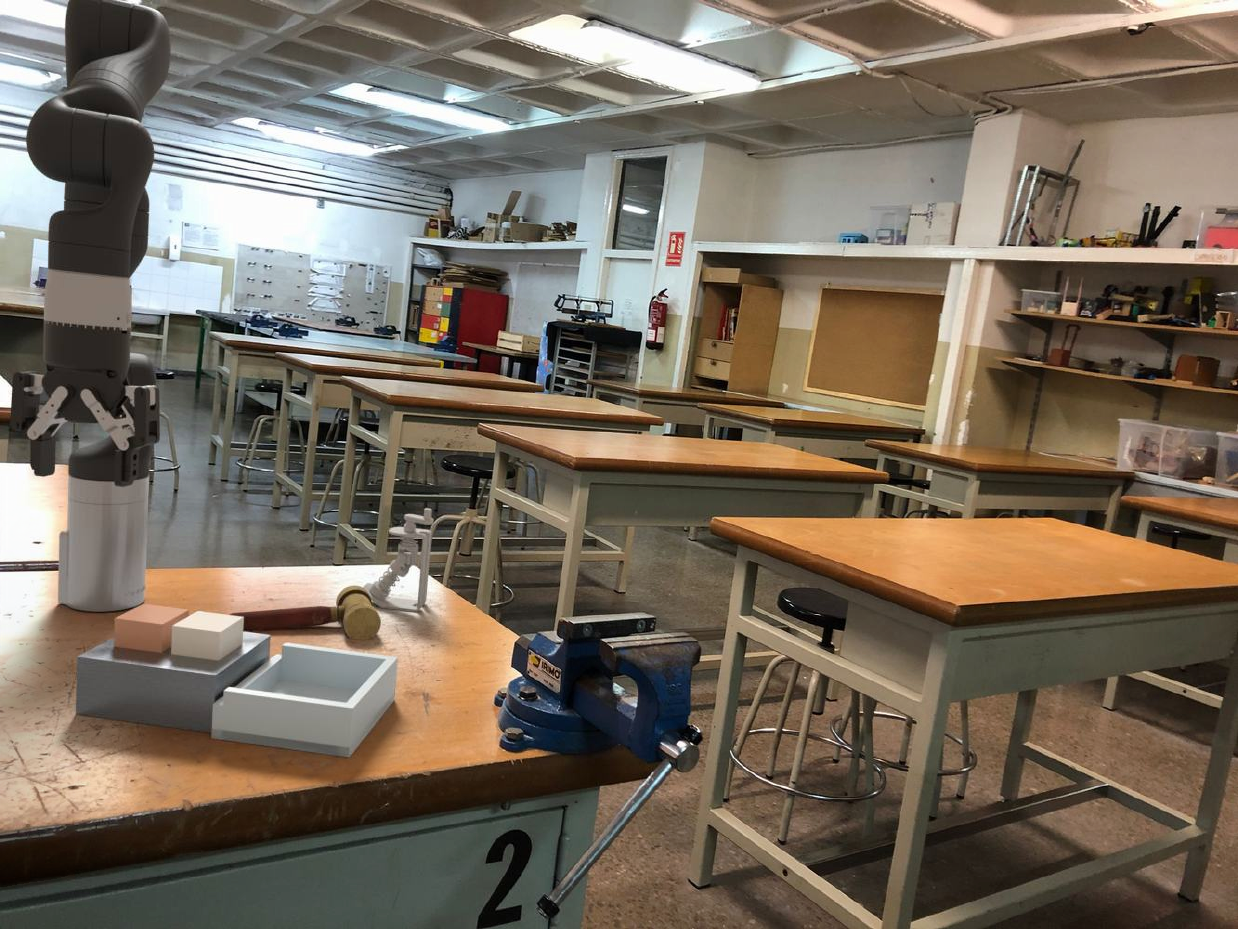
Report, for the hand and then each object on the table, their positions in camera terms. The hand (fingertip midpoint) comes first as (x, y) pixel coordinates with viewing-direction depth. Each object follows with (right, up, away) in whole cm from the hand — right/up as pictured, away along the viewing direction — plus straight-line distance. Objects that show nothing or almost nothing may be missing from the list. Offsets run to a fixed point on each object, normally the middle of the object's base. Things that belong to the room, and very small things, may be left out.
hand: (84, 480), depth 93 cm
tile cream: (+12, -17, +2) cm, 21 cm away
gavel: (+12, -20, +27) cm, 36 cm away
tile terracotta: (+6, -17, +2) cm, 18 cm away
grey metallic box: (+8, -23, +3) cm, 25 cm away
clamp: (+22, -19, +41) cm, 50 cm away
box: (+22, -25, +2) cm, 33 cm away
